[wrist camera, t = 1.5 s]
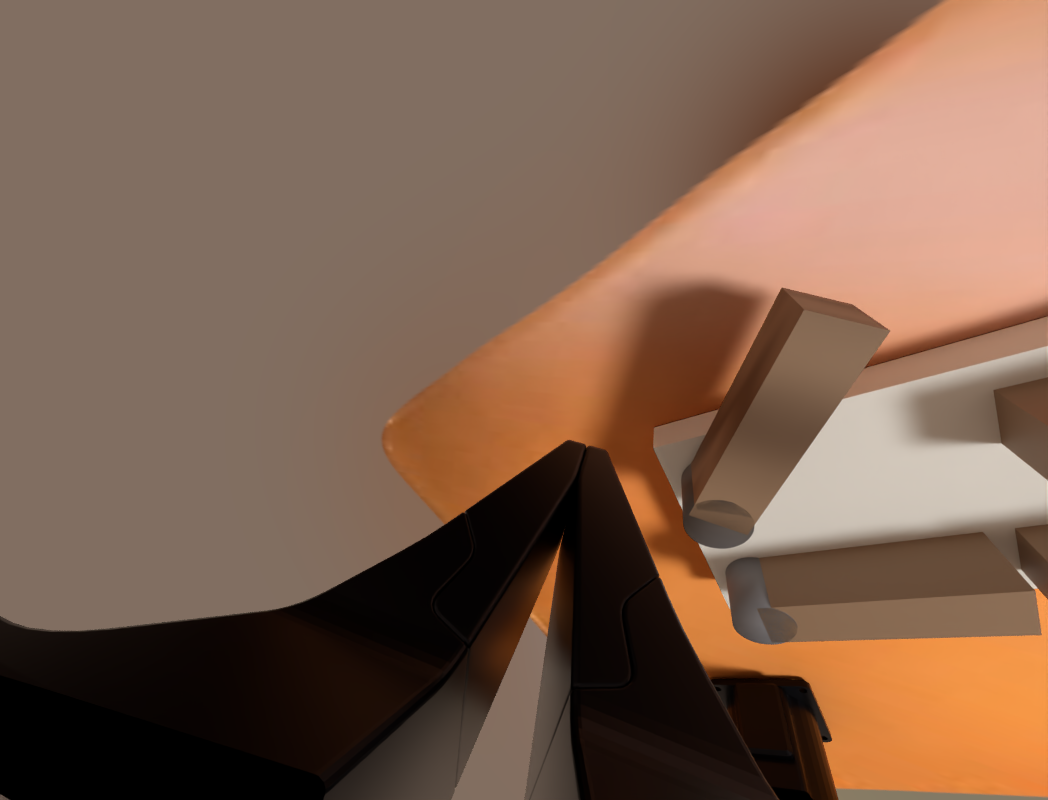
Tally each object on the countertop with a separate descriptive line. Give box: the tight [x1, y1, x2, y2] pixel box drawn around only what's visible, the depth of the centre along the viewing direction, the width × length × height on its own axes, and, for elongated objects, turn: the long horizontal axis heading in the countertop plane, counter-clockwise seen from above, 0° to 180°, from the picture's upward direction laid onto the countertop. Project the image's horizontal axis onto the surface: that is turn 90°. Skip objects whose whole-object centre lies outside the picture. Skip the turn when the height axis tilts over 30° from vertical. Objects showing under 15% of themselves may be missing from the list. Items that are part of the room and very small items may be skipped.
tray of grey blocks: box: [653, 317, 1048, 644], centre depth 16 cm, size 12×24×5 cm, turn 120°
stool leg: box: [681, 288, 890, 549], centre depth 17 cm, size 11×3×3 cm, turn 170°
